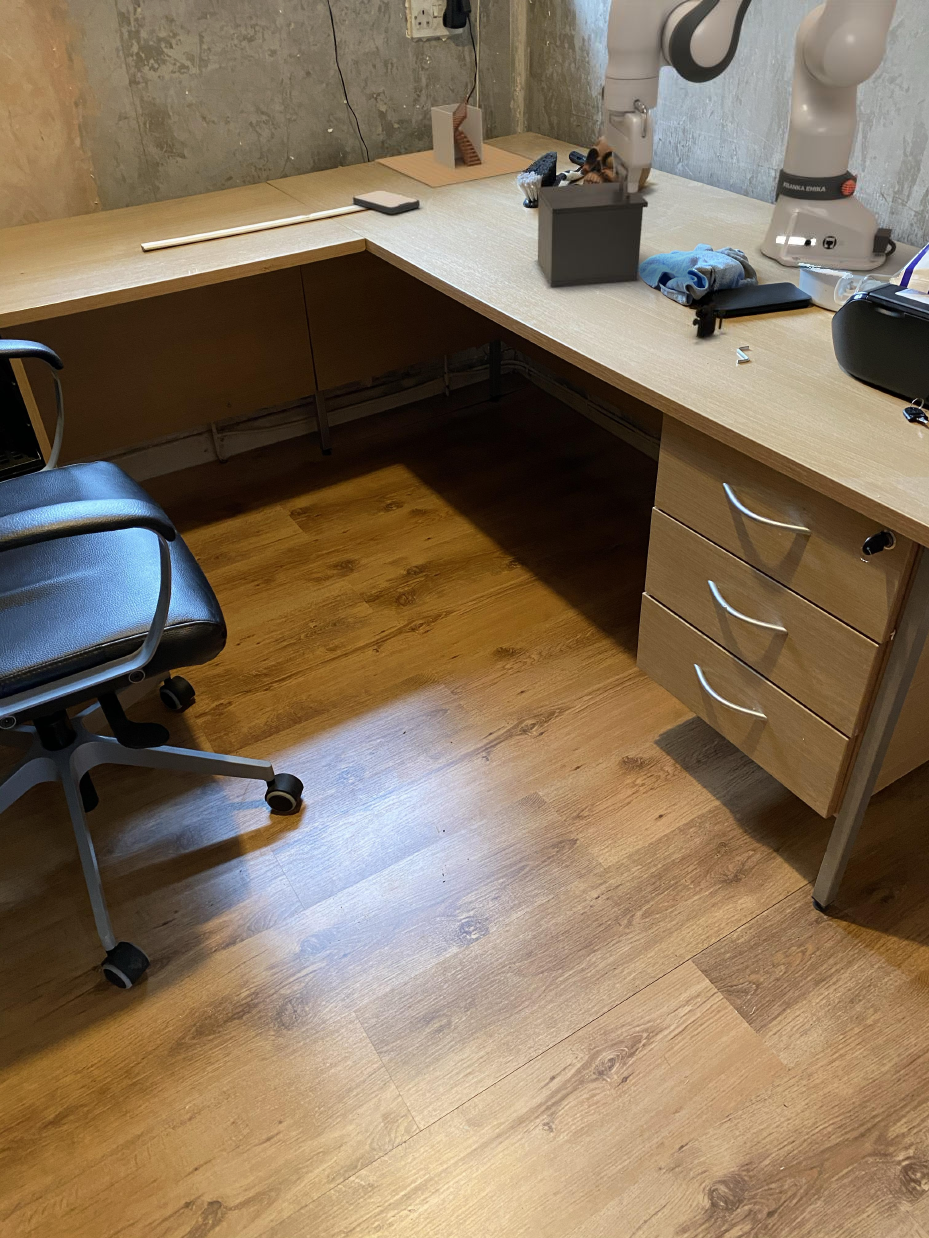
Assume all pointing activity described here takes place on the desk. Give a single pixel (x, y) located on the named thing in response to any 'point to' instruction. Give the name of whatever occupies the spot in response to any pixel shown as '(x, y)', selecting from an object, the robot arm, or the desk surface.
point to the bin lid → (592, 196)
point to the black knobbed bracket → (707, 320)
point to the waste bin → (589, 245)
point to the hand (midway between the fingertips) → (625, 184)
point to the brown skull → (604, 166)
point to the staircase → (456, 150)
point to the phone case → (386, 202)
